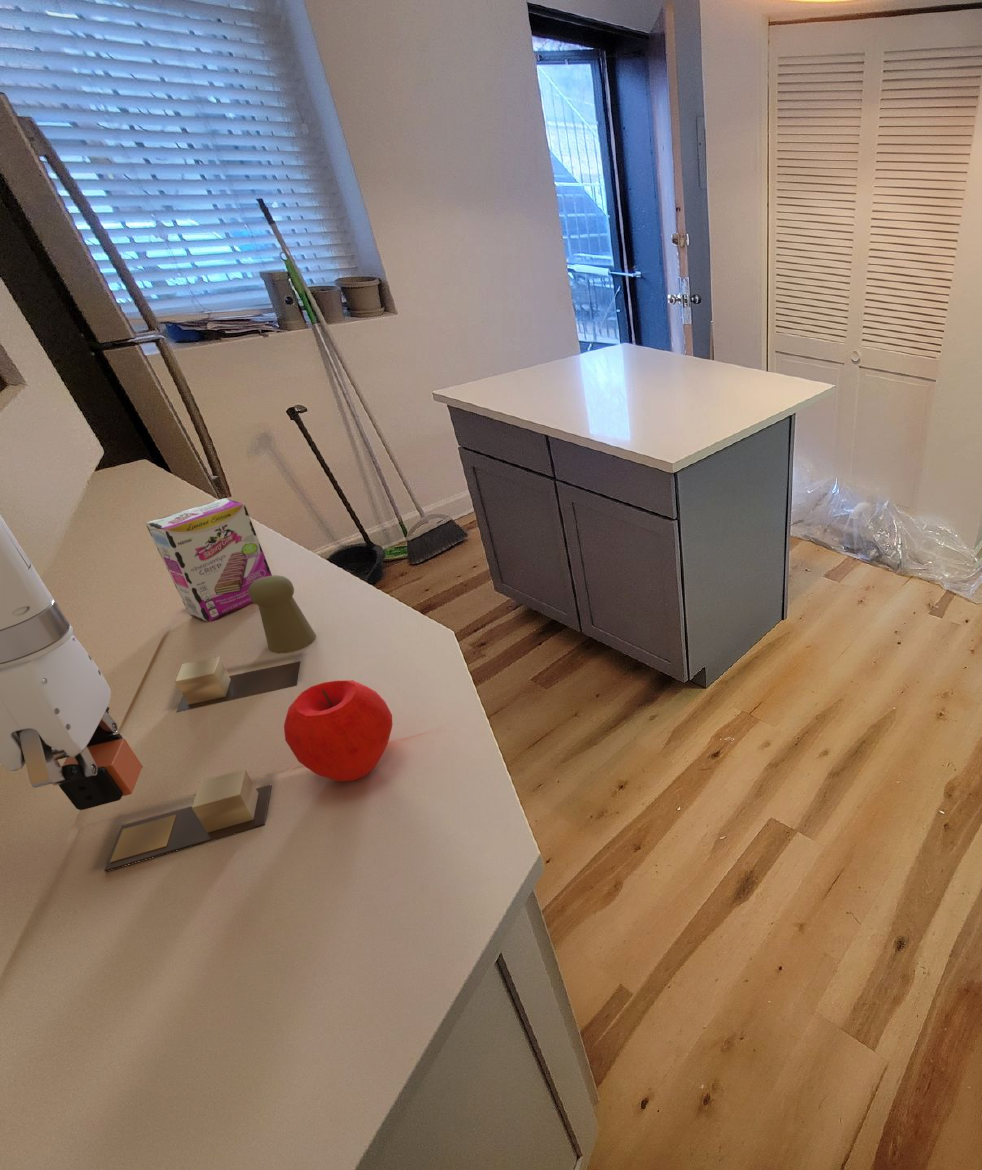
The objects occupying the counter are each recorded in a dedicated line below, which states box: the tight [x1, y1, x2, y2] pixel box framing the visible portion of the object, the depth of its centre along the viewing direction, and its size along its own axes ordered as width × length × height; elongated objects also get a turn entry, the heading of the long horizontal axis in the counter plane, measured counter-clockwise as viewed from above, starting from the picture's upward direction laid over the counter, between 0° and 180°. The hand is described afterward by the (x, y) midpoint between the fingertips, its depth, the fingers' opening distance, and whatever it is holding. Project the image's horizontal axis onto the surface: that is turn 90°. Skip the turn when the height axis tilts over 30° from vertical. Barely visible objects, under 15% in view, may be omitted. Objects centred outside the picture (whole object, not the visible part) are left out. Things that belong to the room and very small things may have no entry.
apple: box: [283, 679, 393, 782], centre depth 73 cm, size 10×10×12 cm
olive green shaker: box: [248, 574, 317, 654], centre depth 94 cm, size 6×6×11 cm
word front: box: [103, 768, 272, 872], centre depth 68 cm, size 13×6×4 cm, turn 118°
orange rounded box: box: [61, 737, 143, 797], centre depth 62 cm, size 4×4×4 cm
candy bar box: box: [144, 497, 273, 623], centre depth 100 cm, size 11×5×16 cm, turn 159°
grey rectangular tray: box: [174, 656, 302, 713], centre depth 87 cm, size 13×6×4 cm, turn 118°
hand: (108, 784), depth 63 cm, fingers closed on orange rounded box, 4 cm apart
